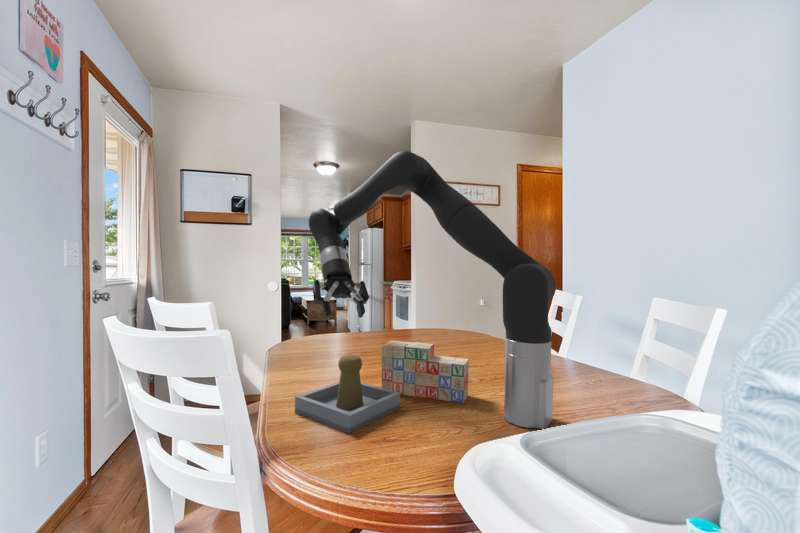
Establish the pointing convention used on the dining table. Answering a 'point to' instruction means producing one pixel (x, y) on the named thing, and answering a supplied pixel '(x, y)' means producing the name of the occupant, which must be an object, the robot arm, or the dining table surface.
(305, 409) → the tray
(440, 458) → the dining table surface
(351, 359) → the cork
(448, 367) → the stack of blocks
